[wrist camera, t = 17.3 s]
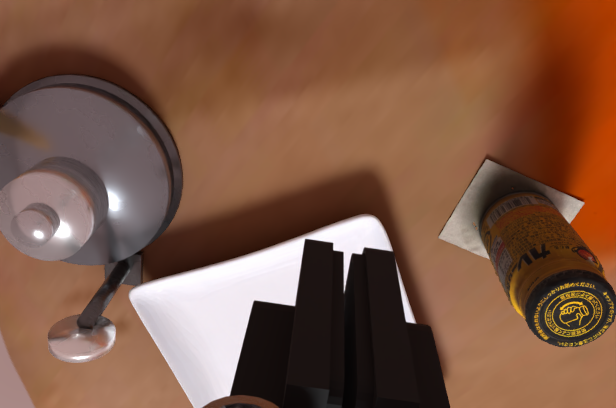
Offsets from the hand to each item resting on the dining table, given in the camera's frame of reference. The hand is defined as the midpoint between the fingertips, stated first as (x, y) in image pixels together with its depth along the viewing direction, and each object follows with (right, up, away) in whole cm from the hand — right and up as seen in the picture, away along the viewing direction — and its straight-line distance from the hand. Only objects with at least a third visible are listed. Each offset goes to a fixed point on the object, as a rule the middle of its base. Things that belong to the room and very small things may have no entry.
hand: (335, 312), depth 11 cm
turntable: (-19, +5, +33) cm, 39 cm away
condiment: (+15, +1, +34) cm, 37 cm away
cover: (-19, +3, +32) cm, 37 cm away
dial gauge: (-16, -3, +37) cm, 41 cm away
